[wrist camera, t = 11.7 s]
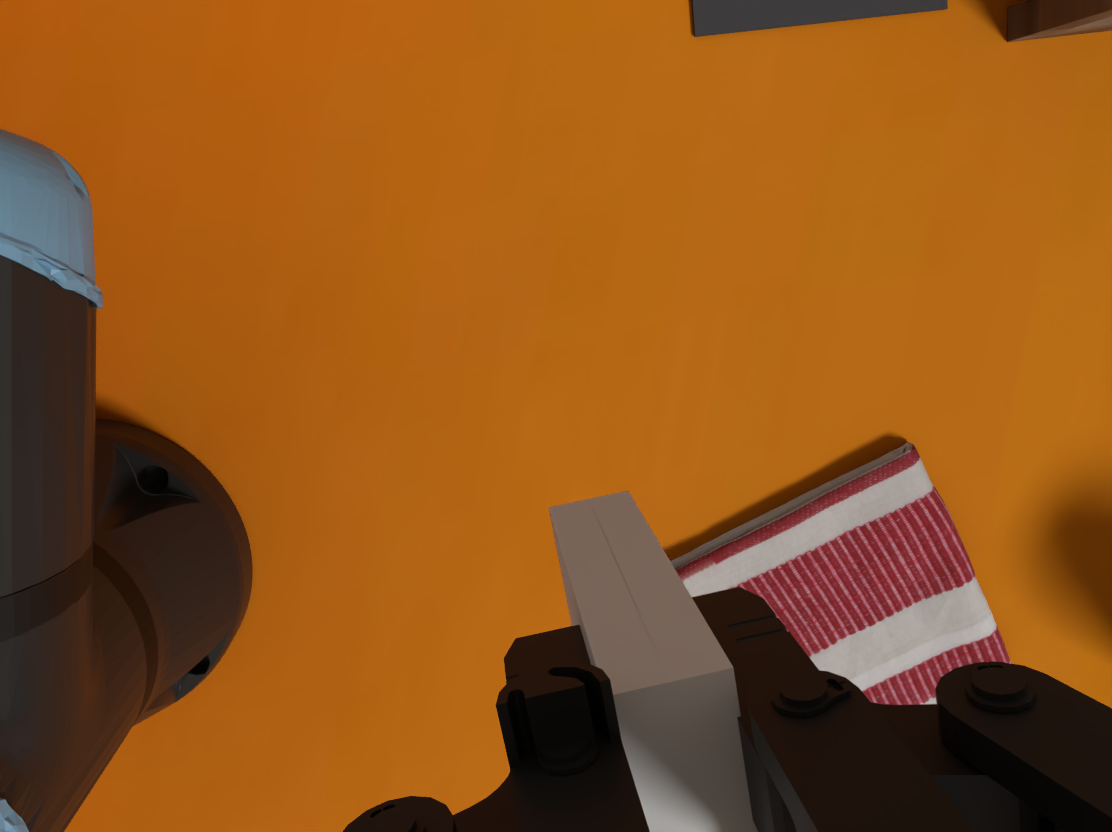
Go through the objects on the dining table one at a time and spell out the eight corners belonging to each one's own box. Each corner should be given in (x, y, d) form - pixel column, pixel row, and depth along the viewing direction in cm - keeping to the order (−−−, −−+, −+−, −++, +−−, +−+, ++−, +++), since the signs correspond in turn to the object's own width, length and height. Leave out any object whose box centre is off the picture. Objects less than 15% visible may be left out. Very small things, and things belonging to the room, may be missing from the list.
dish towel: (794, 901, 54) (810, 936, 51) (624, 578, 48) (632, 599, 46) (1052, 775, 53) (1081, 804, 51) (909, 434, 48) (933, 447, 45)
